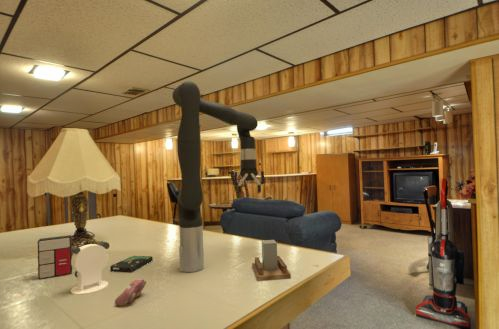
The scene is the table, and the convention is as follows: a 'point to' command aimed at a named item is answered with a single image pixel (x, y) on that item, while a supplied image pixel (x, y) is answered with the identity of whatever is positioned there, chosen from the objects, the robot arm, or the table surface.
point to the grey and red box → (54, 256)
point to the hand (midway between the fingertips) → (249, 193)
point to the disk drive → (131, 264)
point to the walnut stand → (270, 275)
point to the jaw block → (269, 255)
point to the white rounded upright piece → (89, 267)
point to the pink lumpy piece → (130, 292)
